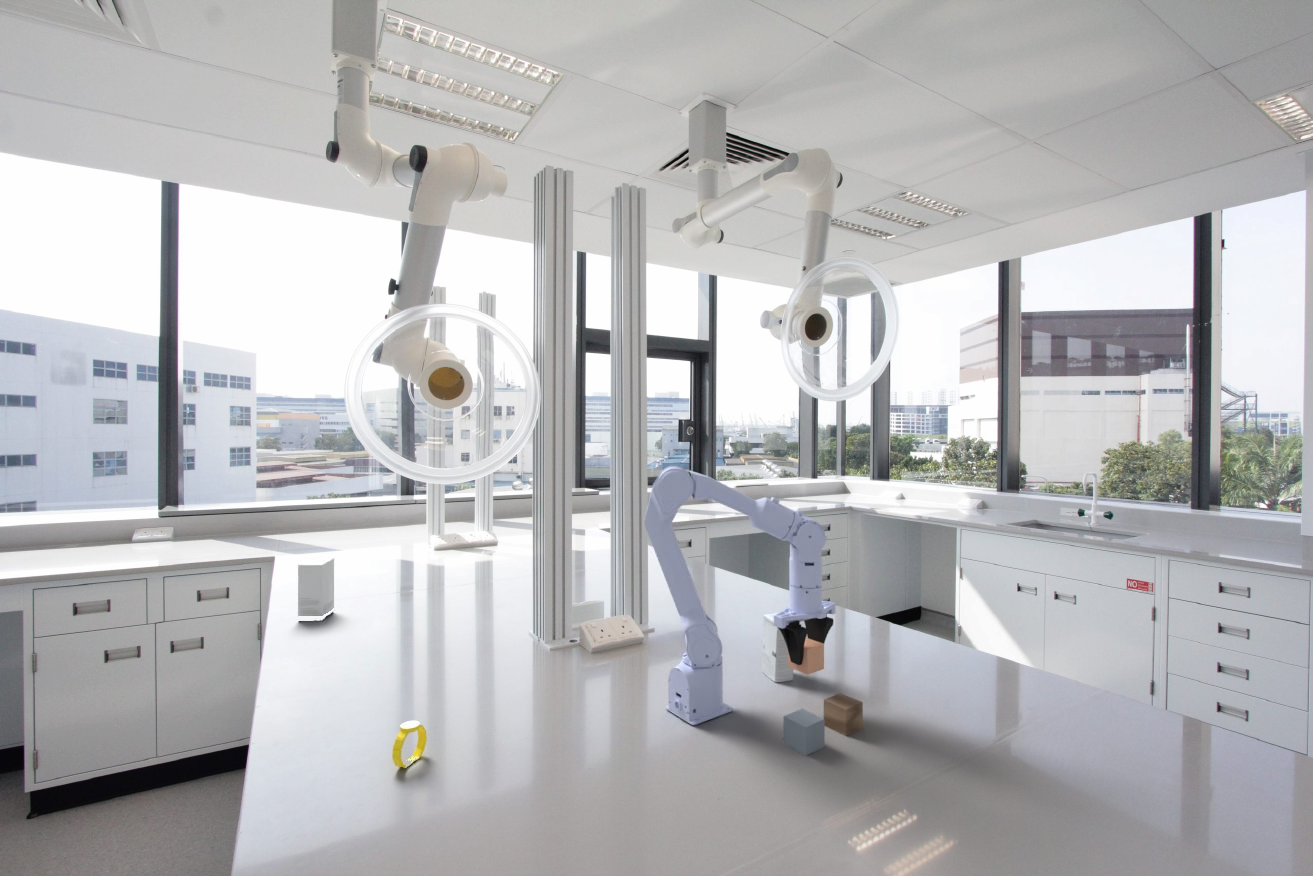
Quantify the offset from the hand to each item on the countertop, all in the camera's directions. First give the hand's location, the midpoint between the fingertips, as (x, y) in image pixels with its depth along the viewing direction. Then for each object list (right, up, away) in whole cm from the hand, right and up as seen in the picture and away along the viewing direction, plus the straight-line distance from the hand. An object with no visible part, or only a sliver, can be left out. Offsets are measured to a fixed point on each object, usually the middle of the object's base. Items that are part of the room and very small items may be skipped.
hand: (805, 659), depth 108 cm
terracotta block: (0, -1, 0) cm, 1 cm away
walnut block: (+5, -9, -6) cm, 12 cm away
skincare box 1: (-119, -9, +55) cm, 132 cm away
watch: (-64, -10, -17) cm, 67 cm away
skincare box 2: (-2, -9, +15) cm, 17 cm away
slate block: (-3, -9, -12) cm, 16 cm away
